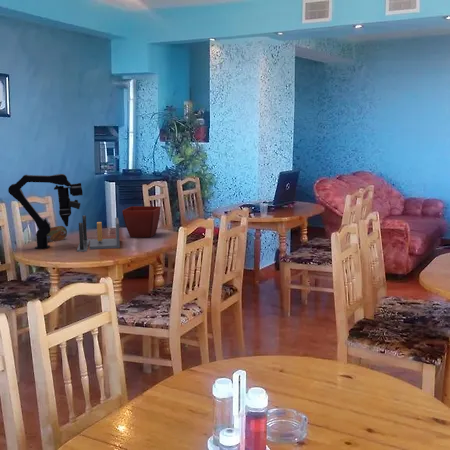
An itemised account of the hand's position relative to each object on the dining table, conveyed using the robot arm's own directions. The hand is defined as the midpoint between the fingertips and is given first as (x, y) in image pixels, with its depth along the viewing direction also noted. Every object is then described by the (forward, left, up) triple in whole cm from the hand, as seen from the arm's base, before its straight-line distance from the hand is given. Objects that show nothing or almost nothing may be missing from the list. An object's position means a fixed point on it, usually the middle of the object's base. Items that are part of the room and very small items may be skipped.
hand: (66, 225), depth 335 cm
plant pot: (+34, -35, -12) cm, 50 cm away
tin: (+17, +13, -12) cm, 24 cm away
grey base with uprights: (+4, -20, -12) cm, 23 cm away
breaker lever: (+4, -17, -10) cm, 20 cm away
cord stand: (+1, -8, -12) cm, 15 cm away
